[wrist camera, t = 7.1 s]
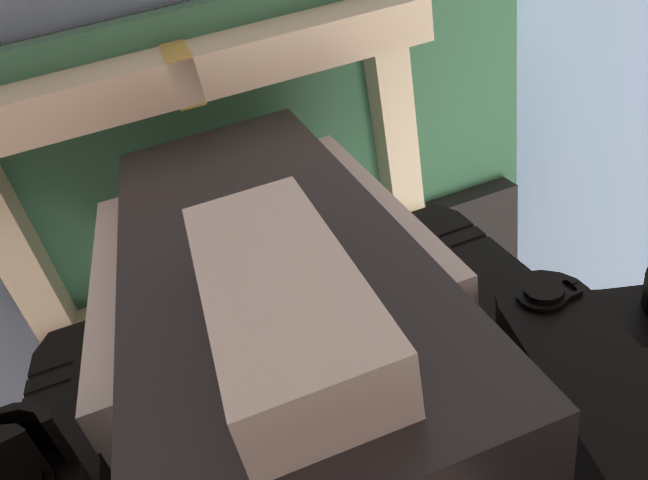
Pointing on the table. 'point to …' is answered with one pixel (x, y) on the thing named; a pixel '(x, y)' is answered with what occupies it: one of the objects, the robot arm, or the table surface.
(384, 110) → the socket
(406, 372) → the plug
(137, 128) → the board
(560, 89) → the table surface
